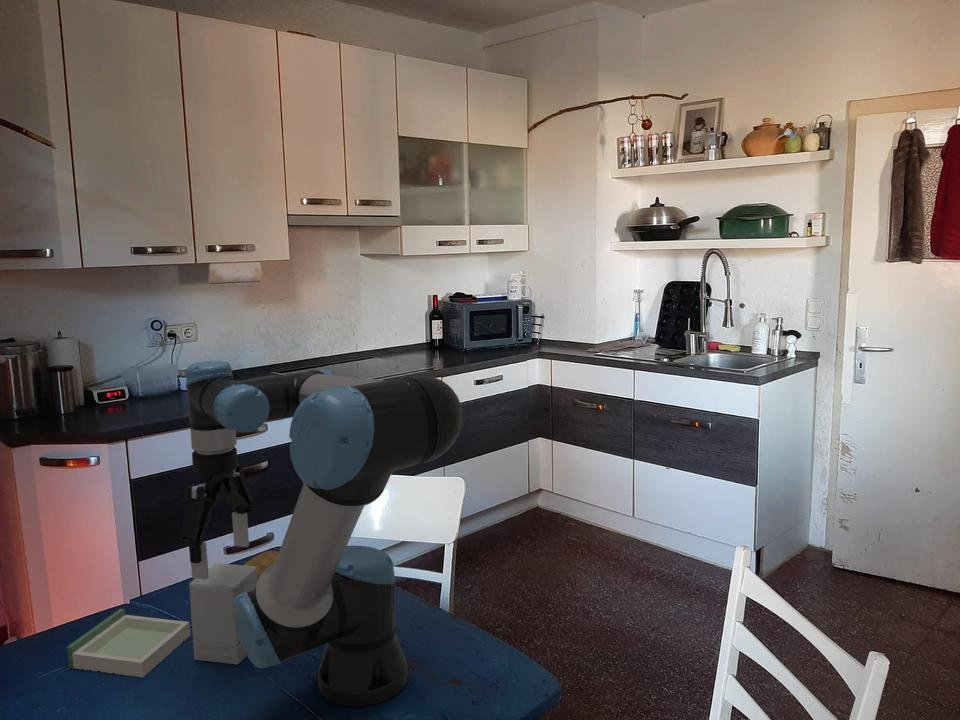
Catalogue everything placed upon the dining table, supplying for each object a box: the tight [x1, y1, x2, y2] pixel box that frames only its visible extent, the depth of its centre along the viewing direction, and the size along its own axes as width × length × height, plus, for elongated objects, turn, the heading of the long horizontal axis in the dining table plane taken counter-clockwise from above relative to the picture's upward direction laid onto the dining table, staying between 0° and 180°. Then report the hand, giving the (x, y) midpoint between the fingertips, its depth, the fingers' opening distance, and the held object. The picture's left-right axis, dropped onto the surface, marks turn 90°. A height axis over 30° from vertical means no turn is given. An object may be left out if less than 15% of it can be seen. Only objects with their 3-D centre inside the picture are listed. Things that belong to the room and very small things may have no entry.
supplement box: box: [188, 562, 258, 665], centre depth 136 cm, size 9×9×15 cm
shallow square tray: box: [66, 608, 191, 678], centre depth 137 cm, size 15×14×4 cm
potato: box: [243, 550, 279, 580], centre depth 159 cm, size 10×14×8 cm
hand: (222, 561), depth 135 cm, fingers open, 13 cm apart
